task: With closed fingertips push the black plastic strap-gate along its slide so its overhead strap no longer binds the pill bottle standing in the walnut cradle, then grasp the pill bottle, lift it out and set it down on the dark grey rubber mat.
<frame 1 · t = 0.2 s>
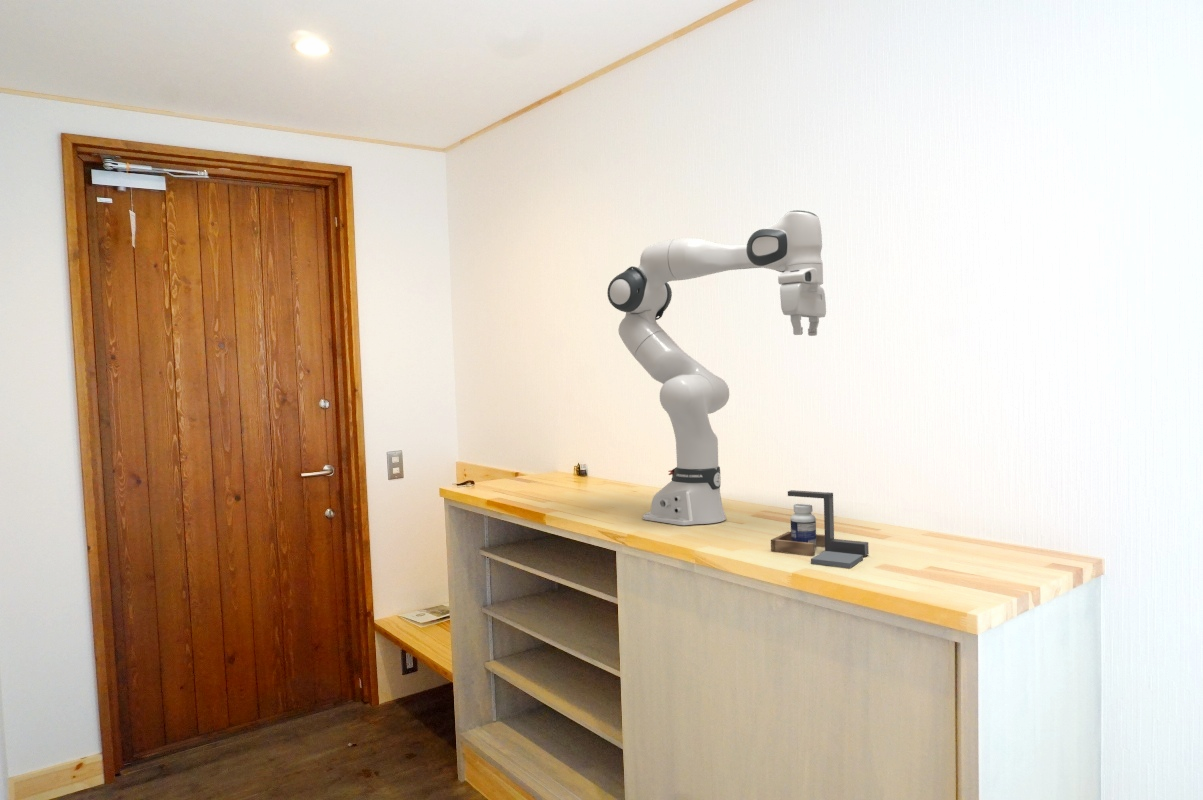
hand: (805, 335, 189), 48 cm above the cabinet, fingers open, 8 cm apart
pill bottle: (803, 550, 171), resting in cradle
cradle: (803, 549, 171), on the cabinet
mat: (837, 561, 160), on the cabinet
gate: (827, 522, 168), point 6 cm above the cabinet, slide at 0.0 cm
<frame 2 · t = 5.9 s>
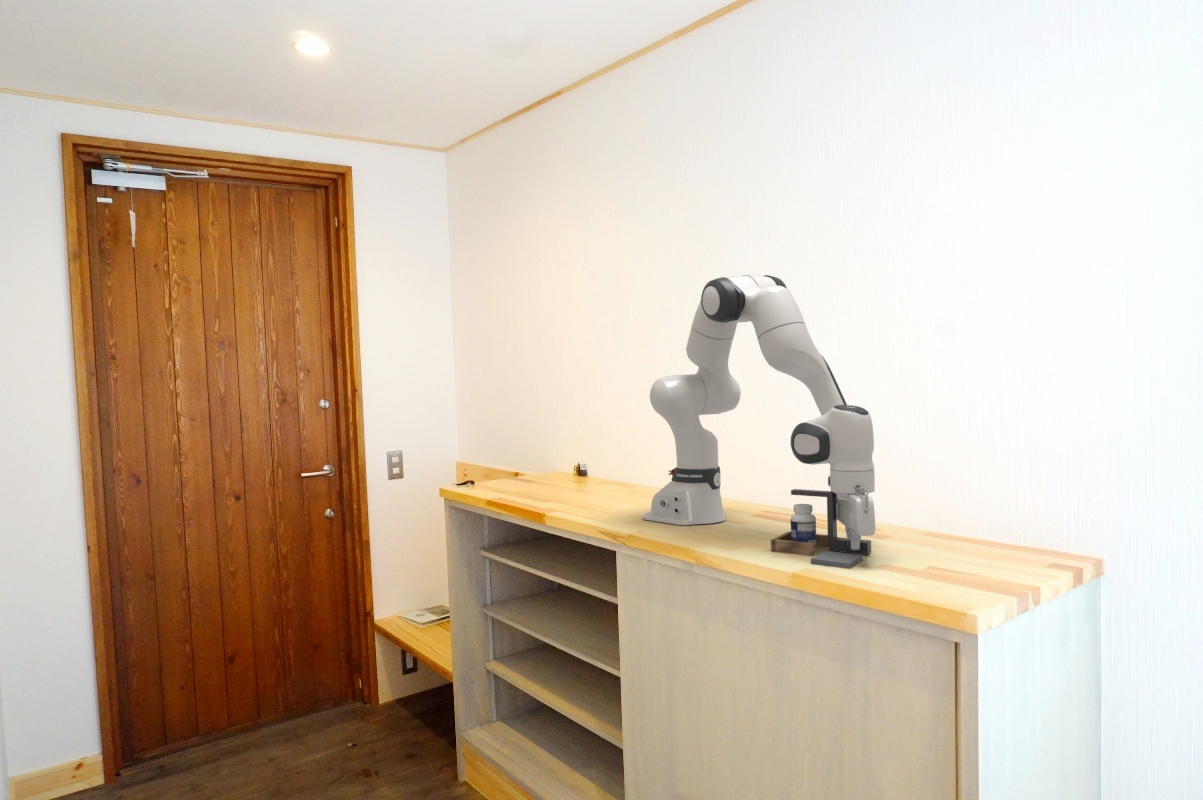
hand: (853, 548, 164), 2 cm above the cabinet, fingers closed
gate: (830, 520, 170), point 6 cm above the cabinet, slide at 1.9 cm, touching gripper
everything else where it was.
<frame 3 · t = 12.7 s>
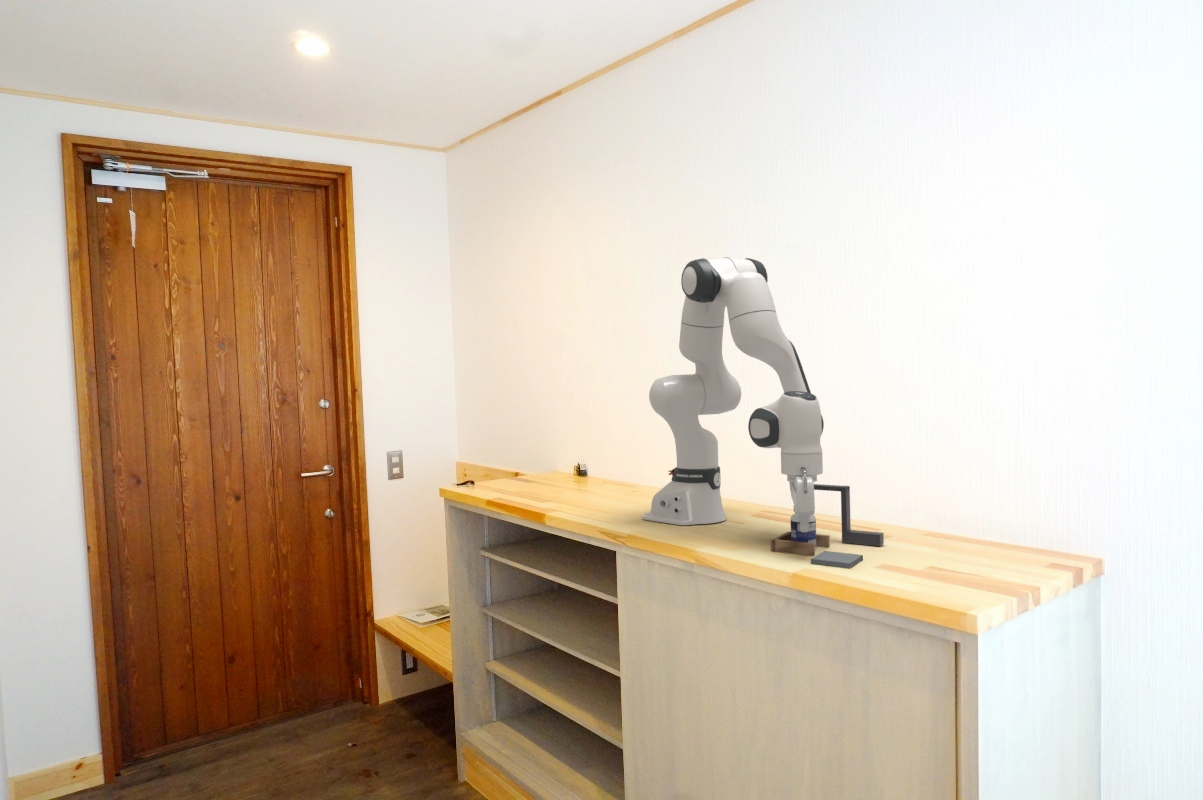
hand: (803, 528, 171), 5 cm above the cabinet, fingers closed on pill bottle, 5 cm apart
pill bottle: (803, 550, 171), resting in cradle, touching gripper
gate: (843, 513, 177), point 6 cm above the cabinet, slide at 10.8 cm
when the fingers open (7 cm above the cabinet, at t = 17.9 s): pill bottle stays where it is, resting on mat.
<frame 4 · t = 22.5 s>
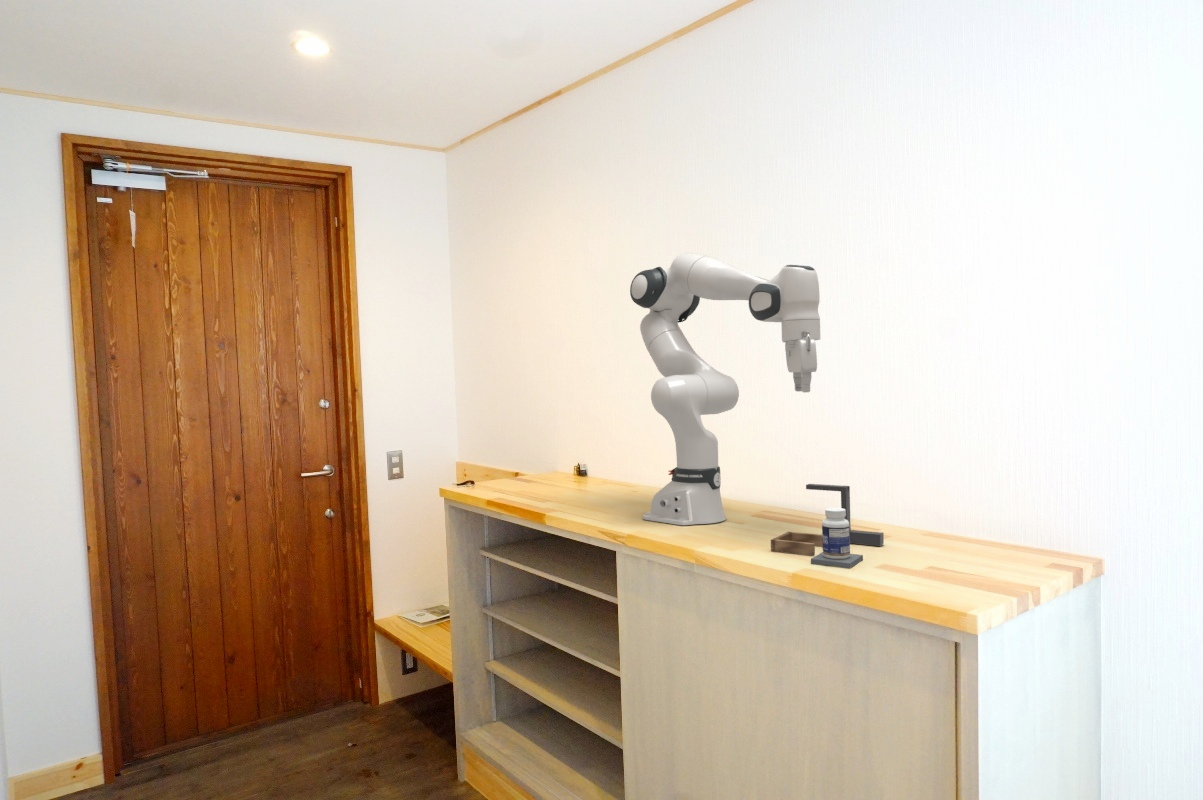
hand: (802, 391, 185), 34 cm above the cabinet, fingers open, 8 cm apart
pill bottle: (836, 557, 160), point 1 cm above the cabinet, touching mat
everything else where it was.
at the end: gate slide at 10.8 cm; pill bottle 0.2 cm from the mat (horizontally); pill bottle tilted 0° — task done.
